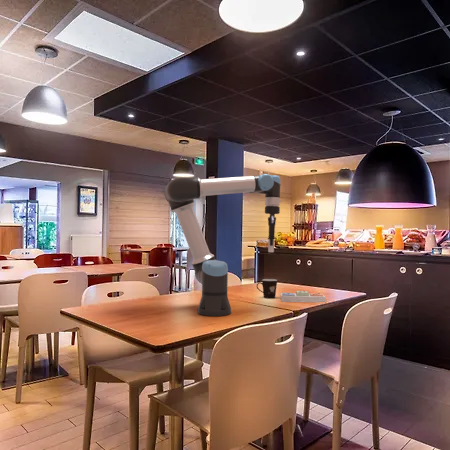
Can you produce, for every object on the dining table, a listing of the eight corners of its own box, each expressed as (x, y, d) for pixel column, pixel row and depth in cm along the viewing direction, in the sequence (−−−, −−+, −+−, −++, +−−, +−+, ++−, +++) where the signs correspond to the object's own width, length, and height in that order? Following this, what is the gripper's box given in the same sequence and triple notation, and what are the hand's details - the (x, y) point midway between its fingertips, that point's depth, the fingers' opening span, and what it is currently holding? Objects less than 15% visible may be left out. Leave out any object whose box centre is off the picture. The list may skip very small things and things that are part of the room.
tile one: (283, 300, 209) (283, 294, 209) (282, 298, 215) (282, 292, 215) (294, 300, 209) (294, 294, 209) (293, 298, 215) (293, 292, 215)
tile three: (311, 300, 208) (311, 294, 208) (309, 298, 214) (309, 292, 214) (322, 300, 208) (322, 294, 208) (320, 298, 214) (321, 293, 214)
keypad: (281, 301, 207) (281, 296, 207) (280, 298, 217) (280, 293, 217) (325, 302, 206) (325, 297, 206) (322, 299, 216) (322, 294, 216)
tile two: (297, 298, 209) (297, 292, 209) (296, 296, 215) (296, 290, 215) (308, 298, 208) (308, 292, 208) (307, 296, 214) (307, 290, 214)
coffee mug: (276, 296, 224) (277, 279, 224) (277, 299, 215) (277, 281, 215) (256, 296, 225) (256, 278, 225) (256, 298, 216) (256, 280, 216)
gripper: (280, 205, 192) (279, 253, 192) (278, 207, 205) (277, 251, 205) (265, 204, 193) (264, 252, 192) (264, 206, 206) (263, 251, 205)
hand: (270, 252), depth 199 cm, fingers closed
